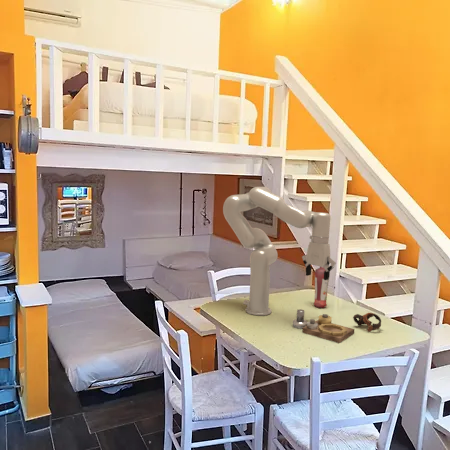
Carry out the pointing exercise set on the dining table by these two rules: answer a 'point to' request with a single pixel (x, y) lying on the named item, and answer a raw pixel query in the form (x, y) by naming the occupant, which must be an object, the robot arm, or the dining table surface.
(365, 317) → the brown creature figurine
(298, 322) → the knobbed round disc
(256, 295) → the robot arm
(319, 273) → the liquor
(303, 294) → the dining table surface
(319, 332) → the carrier board
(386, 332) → the dining table surface
